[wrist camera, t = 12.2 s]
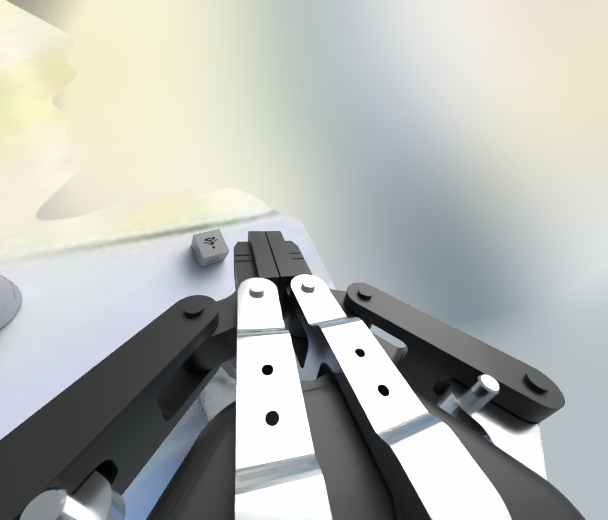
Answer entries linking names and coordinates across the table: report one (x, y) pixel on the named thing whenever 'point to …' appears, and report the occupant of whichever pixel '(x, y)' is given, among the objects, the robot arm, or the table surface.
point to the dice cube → (209, 247)
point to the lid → (221, 388)
